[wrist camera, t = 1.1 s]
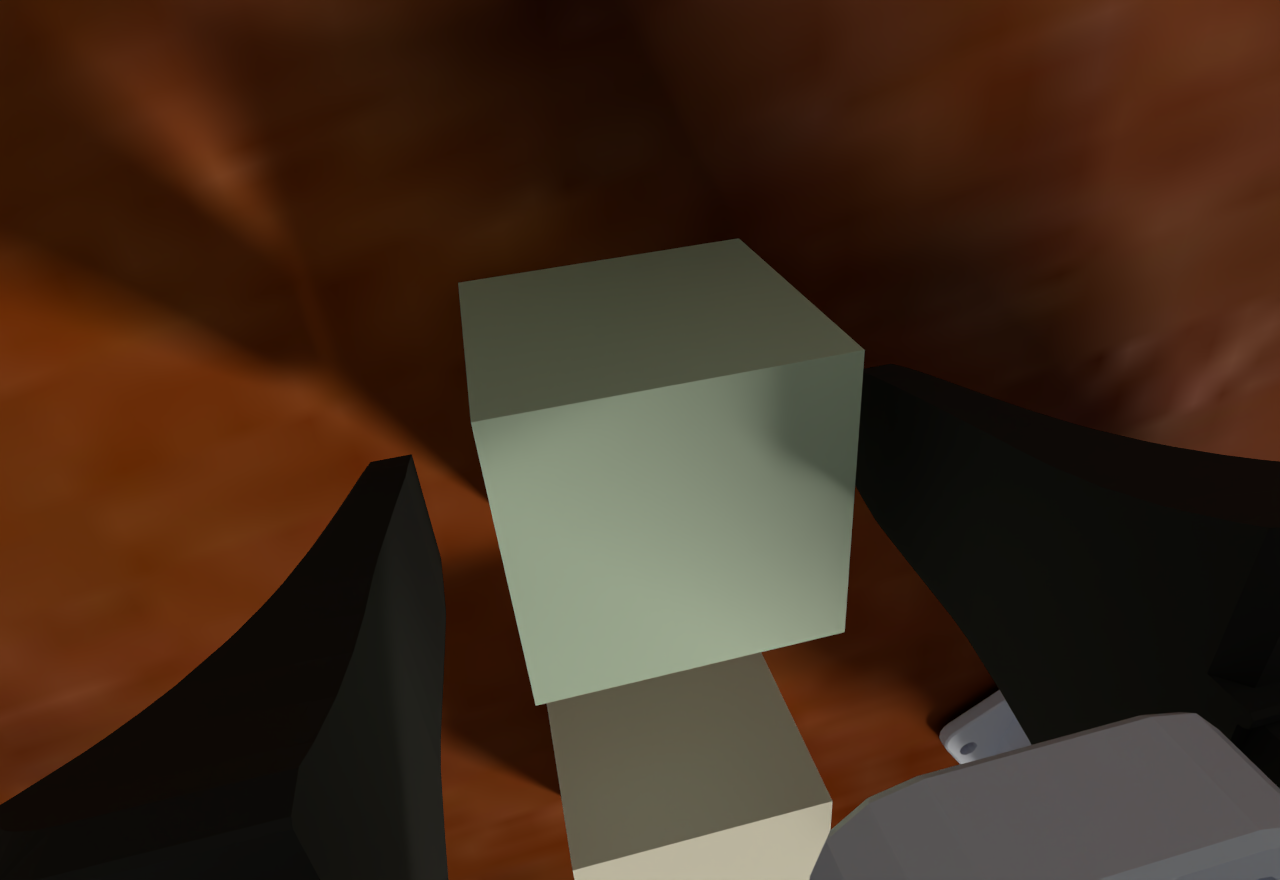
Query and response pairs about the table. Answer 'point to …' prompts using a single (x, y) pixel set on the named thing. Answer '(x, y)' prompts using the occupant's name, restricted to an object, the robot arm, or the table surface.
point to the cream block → (689, 779)
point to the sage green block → (662, 460)
